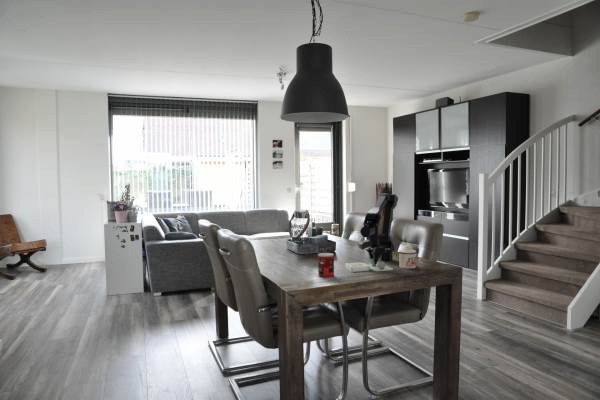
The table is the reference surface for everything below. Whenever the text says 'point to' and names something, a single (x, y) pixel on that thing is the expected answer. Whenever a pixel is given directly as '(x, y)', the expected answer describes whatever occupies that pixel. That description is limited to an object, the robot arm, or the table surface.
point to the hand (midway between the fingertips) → (373, 263)
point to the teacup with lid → (407, 258)
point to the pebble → (381, 265)
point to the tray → (378, 268)
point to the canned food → (326, 265)
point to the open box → (357, 267)
